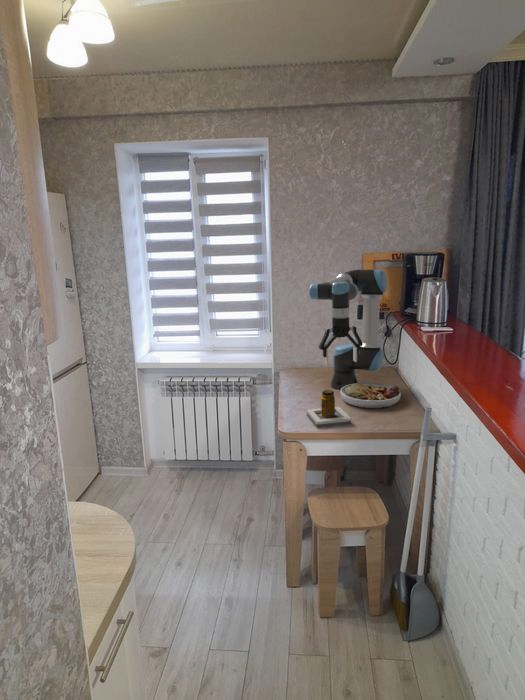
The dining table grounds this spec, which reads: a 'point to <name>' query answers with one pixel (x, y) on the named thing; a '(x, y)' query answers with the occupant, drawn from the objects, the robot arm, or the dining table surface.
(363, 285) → the robot arm
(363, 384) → the bowl
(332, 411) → the condiment
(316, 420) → the pocket plate
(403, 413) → the dining table surface
